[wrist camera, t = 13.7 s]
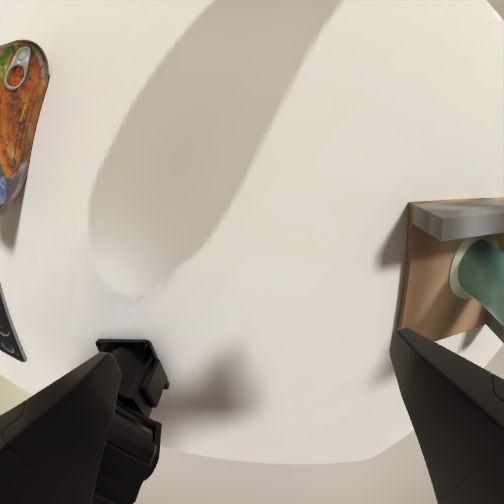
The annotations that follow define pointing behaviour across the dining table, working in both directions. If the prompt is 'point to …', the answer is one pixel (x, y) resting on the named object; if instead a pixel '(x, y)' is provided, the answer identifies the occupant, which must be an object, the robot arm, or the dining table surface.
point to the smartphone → (9, 333)
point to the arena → (446, 265)
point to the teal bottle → (484, 276)
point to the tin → (19, 112)
